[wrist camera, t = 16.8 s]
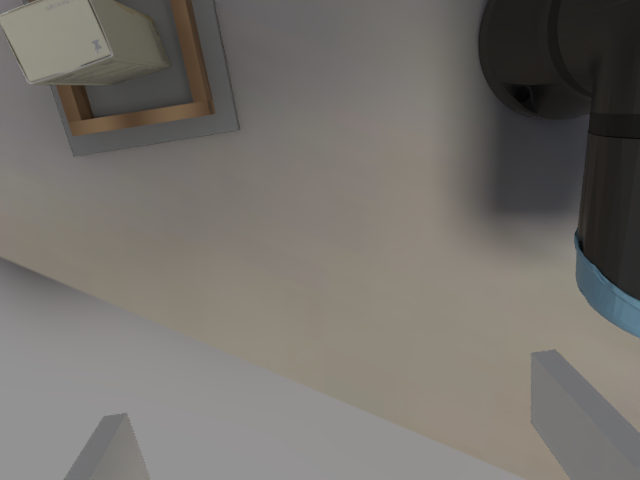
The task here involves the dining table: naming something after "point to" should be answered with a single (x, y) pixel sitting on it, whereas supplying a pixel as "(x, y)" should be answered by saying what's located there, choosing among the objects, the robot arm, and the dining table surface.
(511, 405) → the dining table surface
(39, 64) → the skincare box
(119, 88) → the slate tray
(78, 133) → the walnut collar
